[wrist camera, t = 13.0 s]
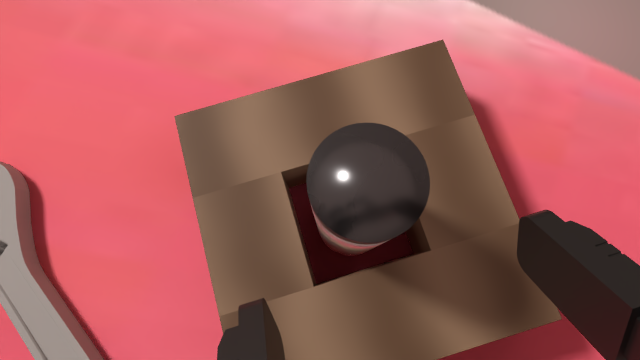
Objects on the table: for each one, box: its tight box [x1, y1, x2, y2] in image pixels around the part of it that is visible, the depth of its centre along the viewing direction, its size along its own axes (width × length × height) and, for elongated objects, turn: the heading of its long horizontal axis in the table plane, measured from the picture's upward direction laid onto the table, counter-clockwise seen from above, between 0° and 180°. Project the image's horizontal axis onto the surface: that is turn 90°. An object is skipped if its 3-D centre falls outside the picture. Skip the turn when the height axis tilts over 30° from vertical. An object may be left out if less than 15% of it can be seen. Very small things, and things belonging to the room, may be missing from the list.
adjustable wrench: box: [0, 162, 104, 360], centre depth 21 cm, size 25×6×2 cm, turn 36°
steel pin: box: [306, 123, 430, 256], centre depth 18 cm, size 4×4×11 cm
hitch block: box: [175, 40, 562, 360], centre depth 21 cm, size 15×15×4 cm
